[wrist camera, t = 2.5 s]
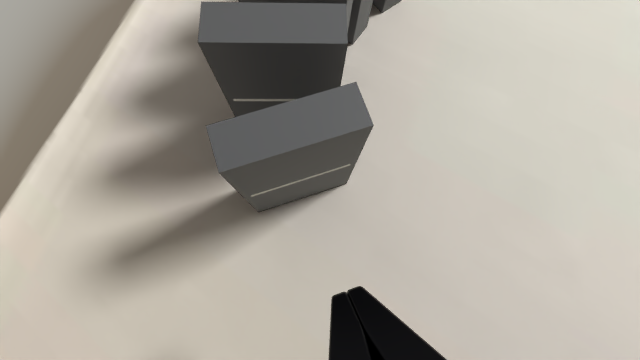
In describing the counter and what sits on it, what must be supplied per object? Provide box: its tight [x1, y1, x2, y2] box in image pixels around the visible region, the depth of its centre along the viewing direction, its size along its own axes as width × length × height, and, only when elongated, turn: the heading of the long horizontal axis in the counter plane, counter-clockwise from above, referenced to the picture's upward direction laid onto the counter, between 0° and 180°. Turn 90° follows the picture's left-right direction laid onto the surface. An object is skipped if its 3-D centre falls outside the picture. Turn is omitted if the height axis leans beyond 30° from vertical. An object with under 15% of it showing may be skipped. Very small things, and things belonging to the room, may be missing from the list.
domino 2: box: [206, 82, 373, 212], centre depth 14 cm, size 2×5×8 cm, turn 108°
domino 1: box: [198, 2, 348, 117], centre depth 15 cm, size 2×5×8 cm, turn 91°
